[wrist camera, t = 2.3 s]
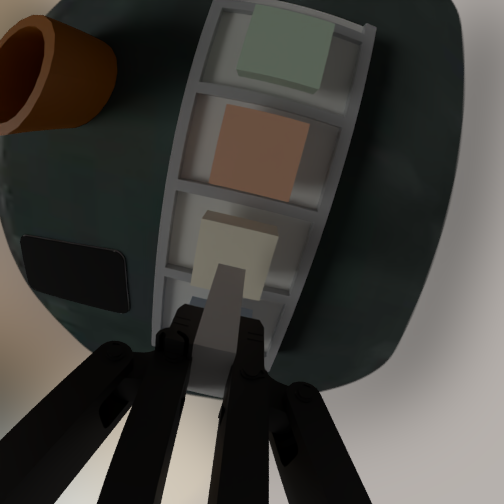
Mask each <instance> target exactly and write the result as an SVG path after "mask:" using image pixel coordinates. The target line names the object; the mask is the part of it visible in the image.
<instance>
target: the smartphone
mask: <svg viewBox="0 0 504 504" xmlns="http://www.w3.org/2000/svg"><path fill="white" fill-rule="evenodd" d="M20 244H21V249H22V255H23V260H24V265H25V269H26V274H27V278H28V282H29V284H30V286H31V287H32V288H33V289H34V290H36V291H39V292H42V293H46V294H49V295H52V296H56V297H59V298H63V299H66V300H70V301H73V302H77V303H81V304H85V305H88V306H92V307H96V308H100V309H104V310H108V311H113V312H117V313H126V312H127V311H128V310H129V299H128V289H127V278H126V264H125V258H124V256H123V255H122V254H121V253H120V252H119V251H117V250H113V249H106V248H100V247H94V246H88V245H82V244H77V243H71V242H65V241H59V240H54V239H50V238H44V237H37V236H31V235H23V236H22V237H21V239H20Z"/></svg>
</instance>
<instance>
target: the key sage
mask: <svg viewBox="0 0 504 504" xmlns="http://www.w3.org/2000/svg"><path fill="white" fill-rule="evenodd" d="M334 27H335V24H334V23H331V22H328V21H325V20H322V19H318V18H315V17H312V16H308V15H304V14H301V13H297V12H293V11H289V10H284V9H280V8H275V7H270V6H265V5H259V4H256V5H255V8H254V11H253V14H252V17H251V21H250V24H249V27H248V30H247V33H246V37H245V40H244V43H243V47H242V50H241V53H240V57H239V60H238V64H237V67H236V70H237V73H238V76H240V77H245V78H250V79H255V80H260V81H264V82H269V83H273V84H277V85H281V86H285V87H289V88H292V89H296V90H300V91H303V92H306V93H310V94H314V93H315V92H317V91H318V90H319V88H320V84H321V80H322V76H323V72H324V68H325V64H326V60H327V56H328V52H329V48H330V44H331V40H332V36H333V31H334Z"/></svg>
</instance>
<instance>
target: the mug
mask: <svg viewBox="0 0 504 504" xmlns="http://www.w3.org/2000/svg"><path fill="white" fill-rule="evenodd" d="M116 77H117V59H116V56H115V54H114V52H113V50H112V48H111V47H110V46H109V45H107V44H106V43H105V42H104V41H102V40H100V39H98V38H95V37H93V36H91V35H89V34H87V33H85V32H83V31H80V30H78V29H76V28H74V27H71V26H69V25H67V24H64V23H62V22H59V21H57V20H54V19H52V18H49V17H46V16H44V15H32V16H29V17H27V18H25V19H23V20H21V21H19V22H18V23H17V24H16V25H14V26H13V27H12V28H11V29H9V31H8V32H7V33H6V34H5V35H4V36H3V38H2V39H1V40H0V135H8V134H15V133H22V132H30V131H39V130H50V129H63V128H76V127H79V126H81V125H83V124H86V123H88V122H89V121H90V120H91V119H93V118H94V117H95V116H96V115H98V114H99V112H100V111H101V110H102V108H103V107H104V106H105V104H106V103H107V102H108V100H109V97H110V95H111V93H112V91H113V89H114V87H115V82H116Z"/></svg>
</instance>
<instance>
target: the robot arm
mask: <svg viewBox="0 0 504 504" xmlns="http://www.w3.org/2000/svg"><path fill="white" fill-rule="evenodd" d="M245 271H246V269H241V268H237V267H233V266H228V265H224V264H220V263H219V264H218V267H217V270H216V273H215V276H214V279H213V282H212V286H211V289H210V292H209V295H208V298H207V301H206V304H205V308H201V307H197V306H193V305H189V304H183V305H182V306H181V307H179V308H178V309H177V311H176V314H175V316H174V318H173V320H172V323H171V325H170V327H168V328H163V329H161V330H159V331H158V332H157V334H156V339H155V350H154V351H152V352H145V353H141V352H132V350H131V348H130V347H129V346H128V345H127V344H125V343H123V342H120V341H110V342H106V343H104V344H103V345H101V346H100V347H99V348H98V349H97V350H95V351H94V352H93V353H92V354H91V355H90V356H89V357H88V358H87V359H86V360H85V361H83V362H82V363H81V364H80V365H79V366H78V367H77V368H76V369H75V370H73V371H72V372H71V373H70V374H69V375H68V376H67V377H66V378H65V379H64V380H63V381H61V382H60V383H59V384H58V385H57V386H56V387H55V388H54V389H53V390H52V391H51V392H50V393H49V394H48V395H47V396H46V397H44V398H43V399H42V400H41V401H40V402H39V403H38V404H37V405H36V406H35V407H34V408H33V409H32V410H31V411H30V412H29V413H28V414H27V415H26V416H25V417H24V418H22V419H21V420H20V421H19V422H18V423H17V424H16V425H15V426H14V427H13V428H12V429H11V431H9V432H8V433H7V434H6V435H5V436H4V437H3V438H2V439H1V440H0V504H54V503H55V502H56V500H57V499H58V498H59V497H60V495H61V494H62V493H63V491H64V490H65V489H66V488H67V487H68V485H69V484H70V483H71V482H72V480H73V479H74V478H75V477H76V475H77V474H78V473H79V472H80V470H81V469H82V468H83V467H84V465H85V464H86V463H87V462H88V460H89V459H90V458H91V456H92V455H93V454H94V453H95V451H96V450H97V449H98V448H99V446H100V445H101V444H102V443H103V441H104V440H105V439H106V438H107V436H108V435H109V434H110V433H111V431H112V430H113V429H114V428H115V426H116V425H117V424H118V423H119V421H120V420H121V419H122V417H123V416H124V415H125V414H126V413H127V411H128V410H129V409H130V407H131V406H132V408H131V410H130V413H129V415H128V418H127V420H126V423H125V425H124V428H123V431H122V433H121V436H120V439H119V441H118V444H117V447H116V449H115V452H114V455H113V458H112V461H111V463H110V466H109V469H108V472H107V475H106V478H105V481H104V484H103V487H102V490H101V493H100V496H99V499H98V502H97V504H161V500H162V495H163V490H164V486H165V482H166V477H167V473H168V468H169V464H170V460H171V455H172V451H173V447H174V443H175V438H176V434H177V430H178V426H179V422H180V418H181V414H182V410H183V406H184V402H185V395H186V391H187V390H189V391H193V392H198V393H202V394H207V395H211V396H216V397H221V398H223V403H222V406H221V409H220V412H219V416H218V418H219V424H218V431H217V438H216V446H215V453H214V460H213V467H212V475H211V482H210V489H209V497H208V504H269V441H270V445H271V448H272V451H273V454H274V458H275V461H276V465H277V468H278V471H279V474H280V477H281V481H282V484H283V487H284V490H285V493H286V496H287V499H288V502H289V504H372V503H371V500H370V498H369V496H368V494H367V492H366V490H365V488H364V486H363V484H362V481H361V479H360V477H359V475H358V473H357V471H356V469H355V466H354V464H353V462H352V460H351V458H350V456H349V454H348V452H347V450H346V447H345V445H344V443H343V441H342V439H341V437H340V435H339V433H338V431H337V428H336V426H335V424H334V422H333V420H332V418H331V416H330V413H329V411H328V409H327V407H326V405H325V403H324V401H323V399H322V396H321V394H320V393H319V391H318V390H317V388H315V387H314V386H313V385H311V384H309V383H306V382H295V383H292V384H291V385H289V386H287V385H284V384H282V383H279V382H277V381H275V380H274V379H272V378H271V377H270V376H269V375H268V373H267V371H266V369H265V366H264V326H263V325H262V323H261V321H260V320H258V319H253V318H248V317H244V316H240V315H241V306H242V297H243V289H244V280H245ZM223 396H224V397H223Z"/></svg>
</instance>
